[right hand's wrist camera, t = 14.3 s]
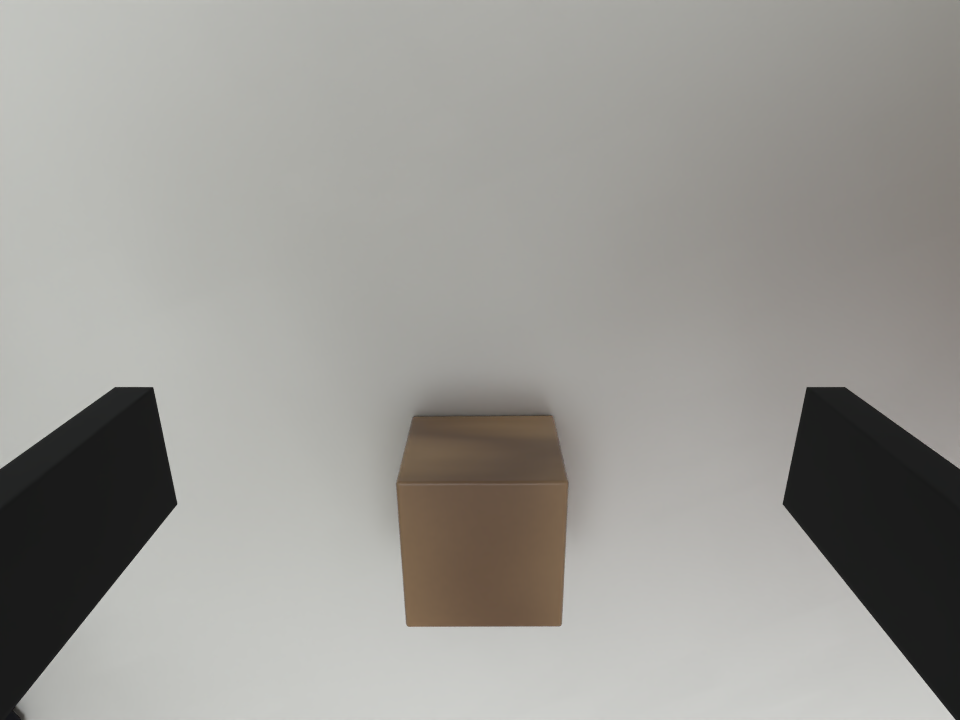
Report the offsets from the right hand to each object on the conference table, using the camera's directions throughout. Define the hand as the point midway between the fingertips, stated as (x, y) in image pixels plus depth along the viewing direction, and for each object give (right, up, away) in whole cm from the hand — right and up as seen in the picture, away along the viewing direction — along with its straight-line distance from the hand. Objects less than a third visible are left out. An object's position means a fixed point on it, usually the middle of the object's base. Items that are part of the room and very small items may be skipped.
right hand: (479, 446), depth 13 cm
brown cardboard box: (0, -2, +9) cm, 9 cm away
